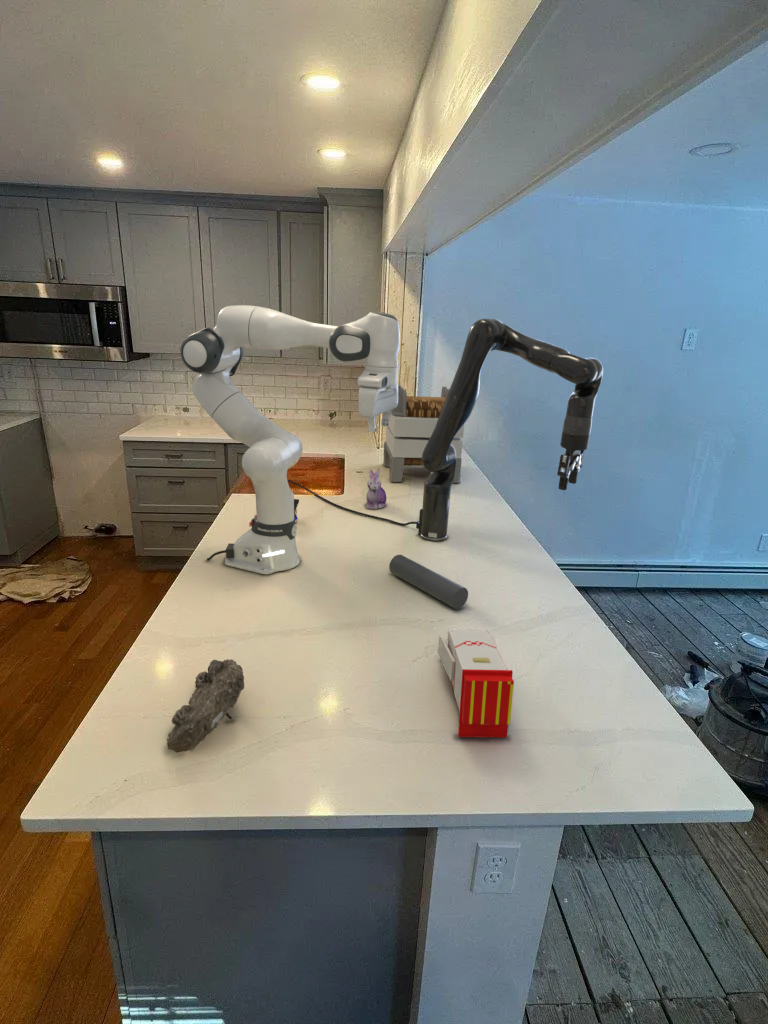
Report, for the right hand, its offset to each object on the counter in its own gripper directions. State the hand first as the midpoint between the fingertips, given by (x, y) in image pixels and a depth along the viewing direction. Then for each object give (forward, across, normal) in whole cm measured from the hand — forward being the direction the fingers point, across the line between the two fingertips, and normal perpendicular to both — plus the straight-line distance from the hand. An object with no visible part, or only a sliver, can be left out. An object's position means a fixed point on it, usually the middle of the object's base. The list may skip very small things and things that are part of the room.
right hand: (567, 486), depth 165 cm
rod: (+28, +35, -24) cm, 51 cm away
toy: (+28, +68, +7) cm, 74 cm away
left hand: (-15, +36, -42) cm, 58 cm away
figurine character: (+29, +24, -90) cm, 97 cm away
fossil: (+28, +106, -28) cm, 113 cm away
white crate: (+29, -67, -91) cm, 116 cm away
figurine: (+29, -13, -78) cm, 84 cm away
